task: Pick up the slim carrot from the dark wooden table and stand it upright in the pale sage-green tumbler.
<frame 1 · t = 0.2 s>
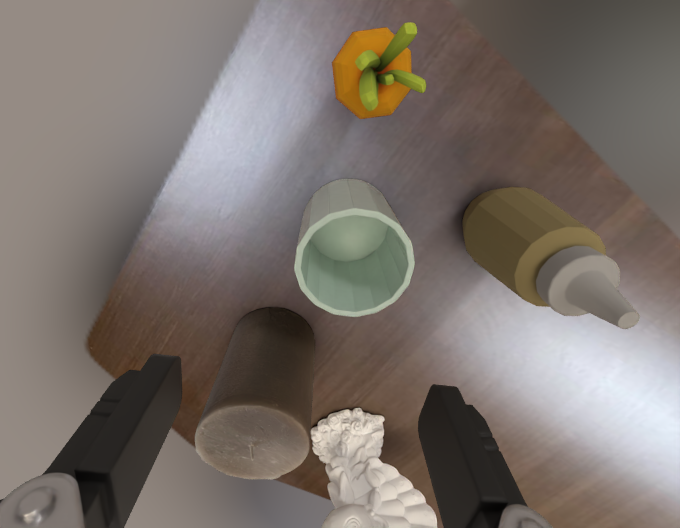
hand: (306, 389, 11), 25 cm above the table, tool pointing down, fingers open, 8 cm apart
carrot: (358, 82, 30), on the table
tumbler: (347, 223, 35), on the table
cherub figurine: (356, 434, 49), on the table
squeeze bottle: (489, 216, 35), on the table
pillar candle: (274, 340, 41), on the table
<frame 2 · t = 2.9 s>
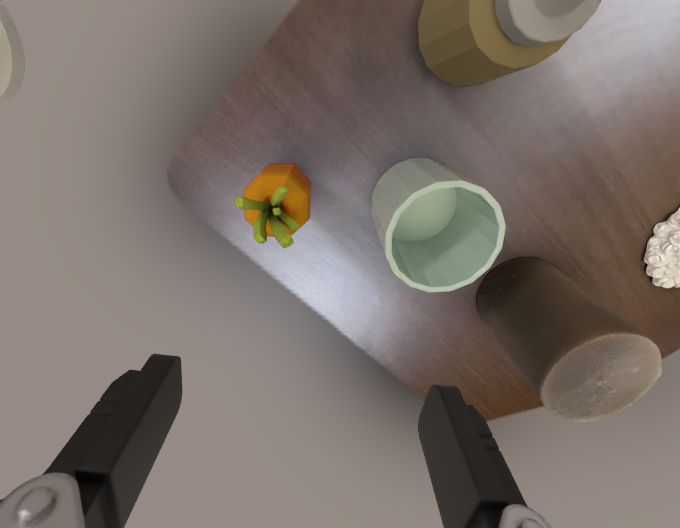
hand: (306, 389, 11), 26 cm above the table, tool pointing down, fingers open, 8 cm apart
carrot: (291, 174, 34), on the table
tumbler: (414, 203, 35), on the table
squeeze bottle: (454, 33, 29), on the table
pillar candle: (516, 293, 40), on the table
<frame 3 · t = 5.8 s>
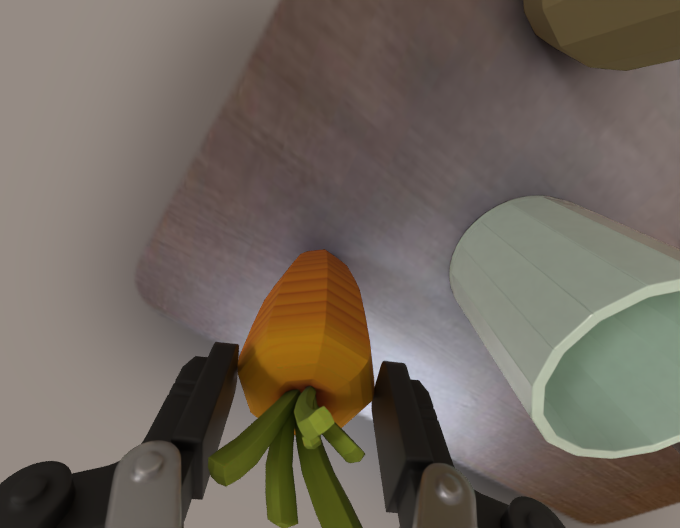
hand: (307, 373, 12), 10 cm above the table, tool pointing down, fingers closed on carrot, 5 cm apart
carrot: (320, 254, 21), on the table, touching gripper
tumbler: (519, 264, 22), on the table
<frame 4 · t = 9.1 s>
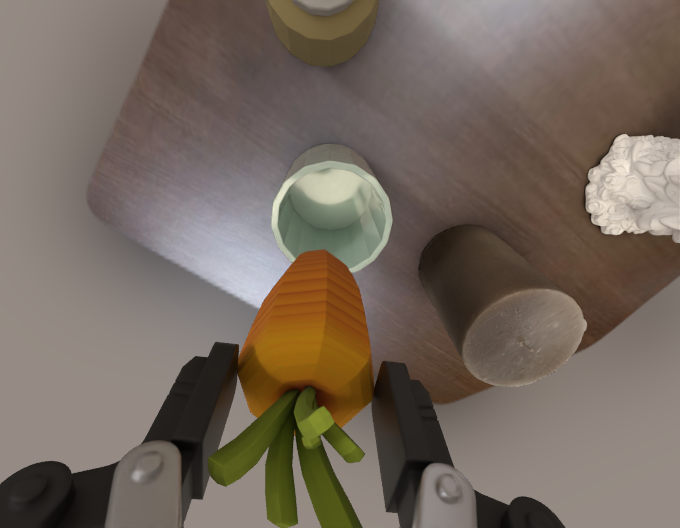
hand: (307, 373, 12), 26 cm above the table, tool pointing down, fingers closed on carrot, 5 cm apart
carrot: (320, 254, 21), point 15 cm above the table, touching gripper
tumbler: (330, 190, 35), on the table
cherub figurine: (639, 171, 35), on the table
squeeze bottle: (323, 14, 29), on the table
pillar candle: (460, 264, 39), on the table
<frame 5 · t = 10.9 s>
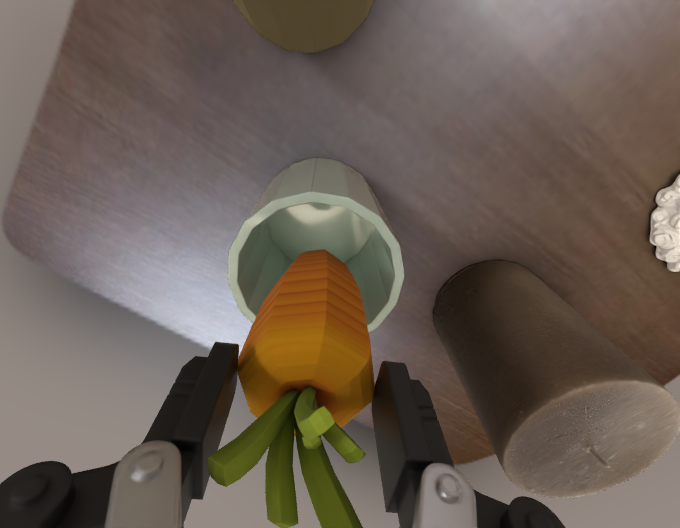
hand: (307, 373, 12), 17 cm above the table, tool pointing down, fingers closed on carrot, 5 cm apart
carrot: (320, 254, 21), point 6 cm above the table, touching gripper
tumbler: (320, 217, 27), on the table
pillar candle: (485, 306, 31), on the table
when the fingers open (11 cm above the table, at t = 12.7 s): carrot stays where it is, resting on tumbler.
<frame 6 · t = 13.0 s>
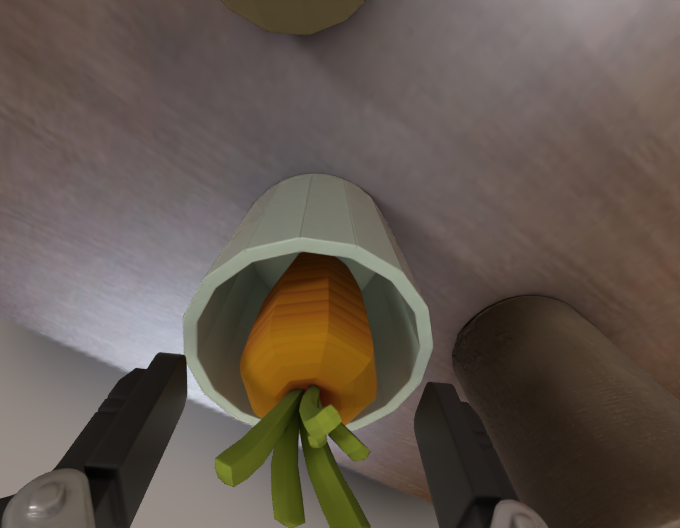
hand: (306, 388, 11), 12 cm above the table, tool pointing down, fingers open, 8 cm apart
carrot: (318, 253, 21), resting on tumbler
tumbler: (316, 246, 22), on the table, touching carrot
pillar candle: (515, 347, 26), on the table
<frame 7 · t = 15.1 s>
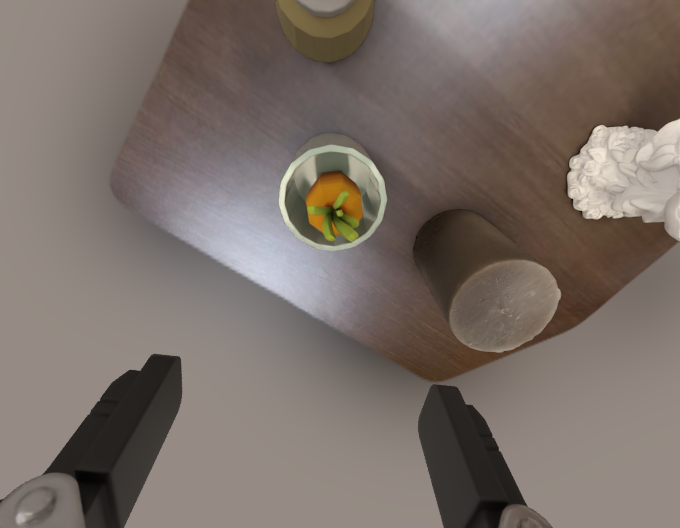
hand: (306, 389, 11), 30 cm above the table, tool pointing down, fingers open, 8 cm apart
carrot: (333, 180, 38), resting on tumbler
tumbler: (332, 176, 38), on the table, touching carrot
cherub figurine: (617, 160, 38), on the table
squeeze bottle: (326, 15, 32), on the table
pillar candle: (452, 246, 42), on the table
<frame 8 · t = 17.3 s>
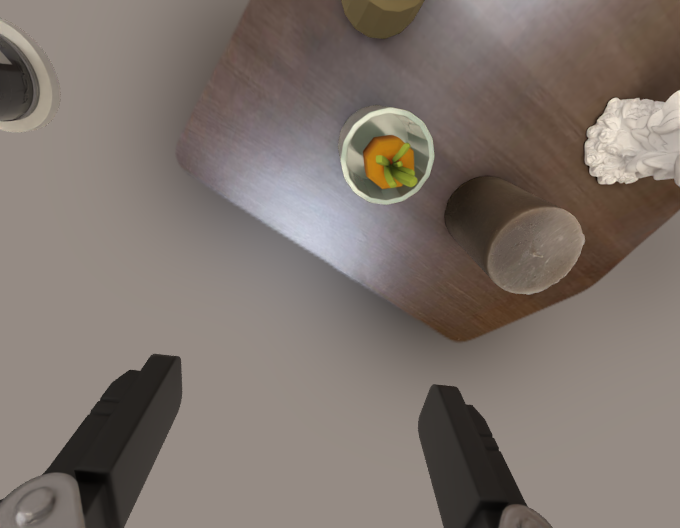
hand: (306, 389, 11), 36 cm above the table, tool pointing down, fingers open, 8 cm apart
carrot: (376, 148, 42), resting on tumbler
tumbler: (374, 145, 42), on the table, touching carrot
cherub figurine: (629, 130, 43), on the table
pillar candle: (479, 211, 47), on the table
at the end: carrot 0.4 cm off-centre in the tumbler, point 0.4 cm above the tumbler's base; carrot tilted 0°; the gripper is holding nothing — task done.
